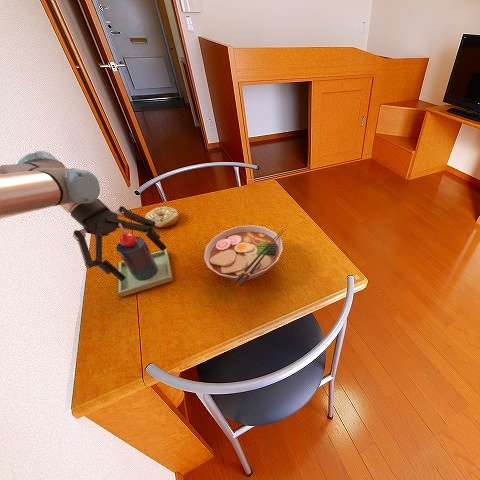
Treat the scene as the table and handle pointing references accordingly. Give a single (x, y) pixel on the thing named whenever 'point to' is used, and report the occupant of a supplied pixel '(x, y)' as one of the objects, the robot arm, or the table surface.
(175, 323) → the table surface
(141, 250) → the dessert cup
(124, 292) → the serving tray
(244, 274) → the ramen bowl
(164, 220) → the decorated donut
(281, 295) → the table surface
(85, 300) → the table surface
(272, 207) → the table surface
